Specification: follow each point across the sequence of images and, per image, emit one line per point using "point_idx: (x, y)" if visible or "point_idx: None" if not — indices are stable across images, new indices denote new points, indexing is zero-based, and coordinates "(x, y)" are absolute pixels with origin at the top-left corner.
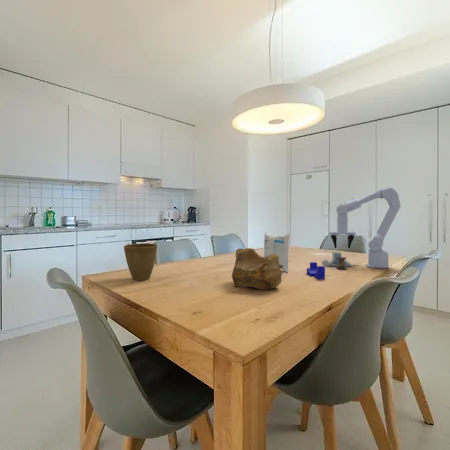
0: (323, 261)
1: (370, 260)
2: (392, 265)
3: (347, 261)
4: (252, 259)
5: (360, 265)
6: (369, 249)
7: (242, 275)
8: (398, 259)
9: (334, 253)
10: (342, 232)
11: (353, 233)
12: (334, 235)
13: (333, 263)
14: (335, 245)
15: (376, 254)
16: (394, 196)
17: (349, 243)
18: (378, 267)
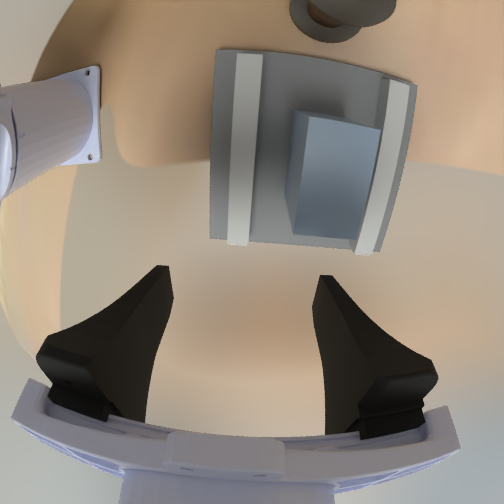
0: (381, 228)
1: (64, 99)
2: None
3: (234, 118)
4: None
5: (135, 147)
6: (5, 164)
7: None
8: (10, 314)
9: (377, 144)
10: (257, 490)
11: (37, 419)
12: (385, 426)
13: None
14: (342, 290)
15: (6, 87)
16: None
17: (144, 297)
18: (59, 75)
